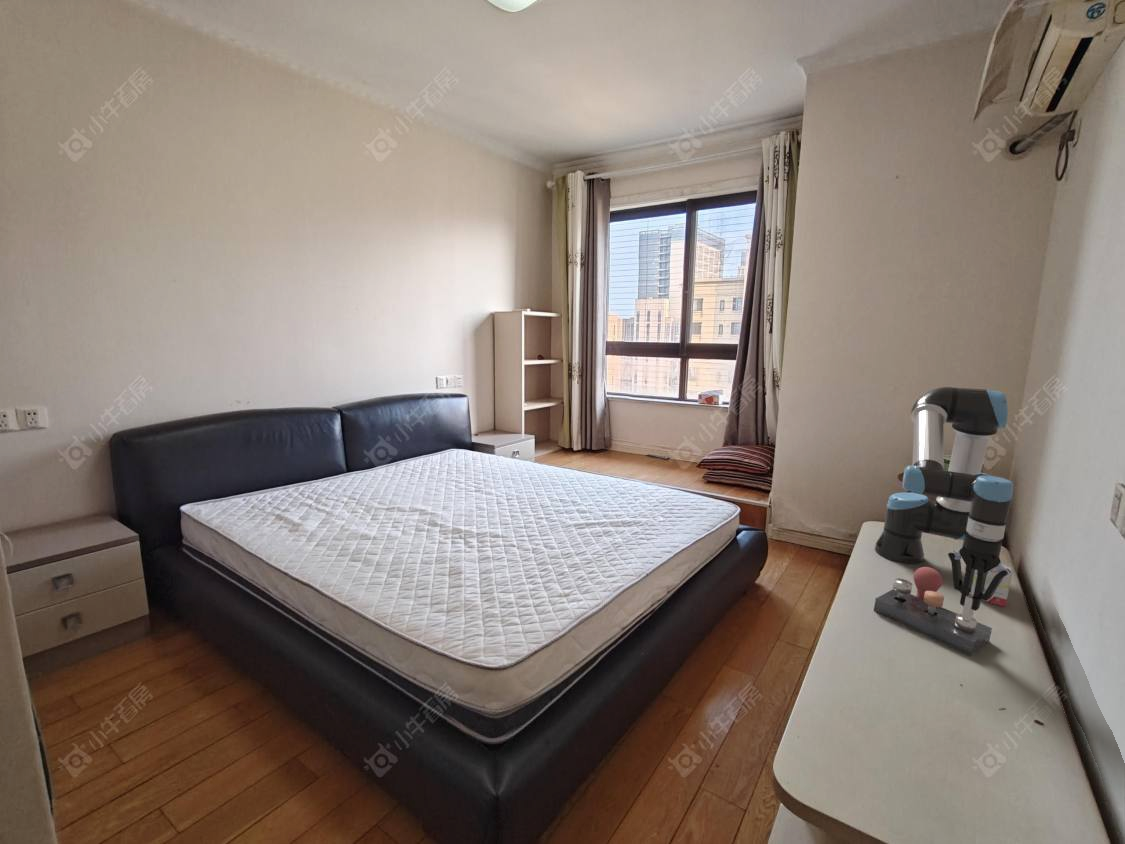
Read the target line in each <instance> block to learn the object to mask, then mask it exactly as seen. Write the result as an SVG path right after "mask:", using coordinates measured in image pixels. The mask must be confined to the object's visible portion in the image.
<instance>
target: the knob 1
mask: <svg viewBox="0 0 1125 844" xmlns="http://www.w3.org/2000/svg"><path fill="white" fill-rule="evenodd" d="M892 585H893V587H892V590H893V589H894V590H895V591H897V592H898V596H897V600H898V601H900V602H903V600H904V595H905V594H912V589H913V583H912V582H911V581H909V580H907V579H904V578H894V581H893V584H892Z"/></svg>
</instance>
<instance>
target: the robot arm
mask: <svg viewBox="0 0 1125 844" xmlns="http://www.w3.org/2000/svg"><path fill="white" fill-rule="evenodd" d="M1008 409H1009V406H1008V400H1007V396H1006V394H1005V393H1004V392H1003V391H999V390H998V391H997V390H991V389H990V390H989V388H988V389H984V388H982V389H981V388H966V387H965V388H964V387H953V386H942V387H937V388H934V389H931V390H929V391H927V392H925V393H924V394H922V395H921V396H920V397H919V398H917V400H915V402H914V404H913V405H912V407H911V412H910V419H911V422H912V423H913V424H914V425H913V439H912V440H913V444H912V463H911V465H906V466H905V468H904V472H903V478H902V488H903V490H904V491H907V492H896V493H895V492H894V493H893V494H892V495H890V496H889V498H888V501H887V504H886V514H885V520H884V524H883V530H882V533H881V534H880V535H879V537H878V538H877V540H876V543H875V546H874V551H875V552H876V553H877V554H878V555H880V556H882V557H883V558H885V559H889V560H891V561H895V562H898V563H903V564H921V563H923V562H924V558H925V552H924V551H925V550H924V547H923V543H922V535H923V534H929V535H934V536H937V537H938V536H939V537H943V538H949V539H954V540H956V541H957V540H959V541H962V542H963V543H962V547H961V548H960V549H959V550H957V551H955V550H952V551H951V552H948V553H947V556H948V558H949V560H950V563H951V571H952V580H953V582H952V583H953V588H954V590H955V591H958V592H960V593H961V595H960V600H959V604H960V605H961V606H963V608H962V613H961V614H962V618H961V619H964V620H966V621H969V620H971V619H972V618H974V617H973V616H974V612H976V611H978V610H979V609H980V606H981V602H982V601H983V600H985V601H984V602H987V600H988V599H990V598H991V597H992V595H993V594H994V592H995V590H996V589H997V587H998V586H999V584H1000V582H1001V581H1002V579H1003V577H1004V576H1006V575H1007V574H1009V573H1010V570H1009V569H1005V568H1004V567H1003V566H1002V565H1003V564H1002V563H1001V559H1000V554H1001V549H1002V545H1003V541H1002V540H1003V539H1004V536H1005V531H1006V527H1007V520H1008V517H1009V516H1008V515H1009V513H1010V512H1009V510H1010V506H1011V504H1012V499H1013V497H1014V492H1013V491H1014V487H1015V486H1014V483H1013V482H1012V481H1011V480H1009V479H1007V478H1004V477H999V476H996V475H995V476H994V475H990V474H988V473H985V472H984V473H983V472H982V469H983V465H984V461H985V457H986V452H987V450H988V449H987V448H988V445H989V440H990V438H992V437H993V436H995V435H997V433H998V430H1001V429H1005V428H1006V426H1007V422H1008V416H1009V415H1008V413H1009V412H1008ZM945 423H947V424H948V423H949V424H951V428H952V430H953V431H954V432H955V437H954V442H953V446H952V452H951V456H950V460H949V464H948V470H945V462H944V461H945V458H944V457H945V454H944V453H945V452H944V451H945V447H944V444H945V443H944V440H945V439H944V437H945V436H944V424H945ZM927 495H928V496H932V497H933V496H934V497H936V498H935V499H936V500H935V501H932V500H929V498H928V496H927ZM961 559H962V560H963V562H964V564H965V567H964V570H965V571H964V572H965V573H964V576H963V573H962V565H961V564H962V562H961ZM1001 564H1002V565H1001ZM995 567H996V568H997V570H996V573H997V574H996V575H995V577H994V578H993V580H992V581H991V583H990V585H989V586H988V588H987V590H986V591H985V593H984V594H983V591H984V586H985V581H986V576H987V574H988V571H989V570H991V569H993V568H995ZM975 570H978V571H977V580H976V585H975V590H974V595H972V594H971V590H972V585H973V580H974V574H975ZM963 577H964V578H963Z"/></svg>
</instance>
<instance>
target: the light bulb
mask: <svg viewBox="0 0 1125 844" xmlns="http://www.w3.org/2000/svg"><path fill="white" fill-rule="evenodd" d="M912 579H913V582H914V584H915V587H916V589H917V591H916V594H915V596H916V597H919V598H921V599H923V600H924V595H925V591H934V592H937V593H938V591H939V590H940V588H941V587H942V585H943V577H942V575H941V573H939V571H937V570H936V569H934V568H932V567H929V566H923V567H922V566H921V567H919V568H917V569H916V570H915V571H914V573H913V578H912Z"/></svg>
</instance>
